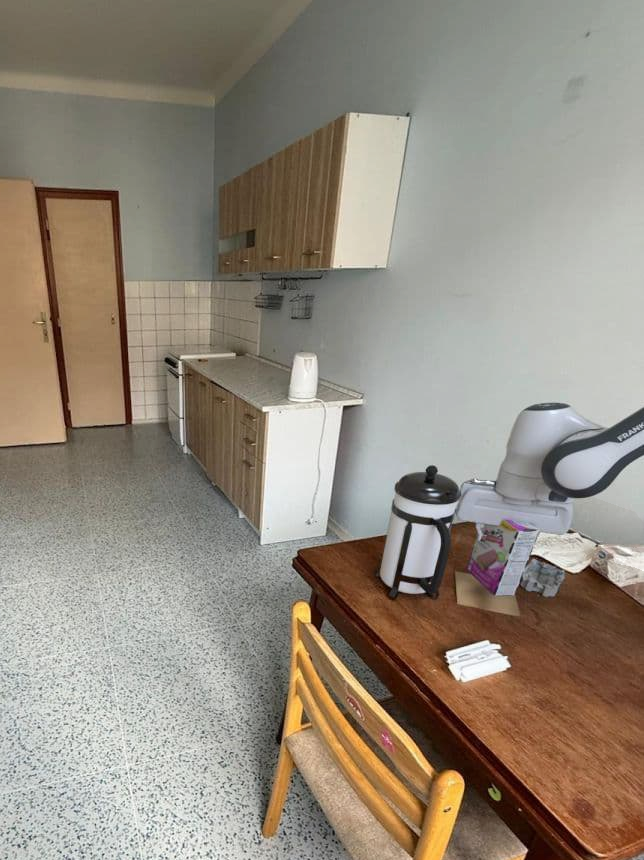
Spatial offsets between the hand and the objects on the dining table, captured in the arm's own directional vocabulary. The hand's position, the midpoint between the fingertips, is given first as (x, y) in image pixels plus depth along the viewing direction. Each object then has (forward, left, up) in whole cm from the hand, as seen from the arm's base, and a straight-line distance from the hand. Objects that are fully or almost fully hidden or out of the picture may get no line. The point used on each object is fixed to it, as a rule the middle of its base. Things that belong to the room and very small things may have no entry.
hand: (501, 543), depth 102 cm
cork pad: (0, 0, -13) cm, 13 cm away
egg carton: (-12, -9, -13) cm, 20 cm away
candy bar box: (0, 0, -10) cm, 10 cm away
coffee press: (+16, +5, -13) cm, 21 cm away
